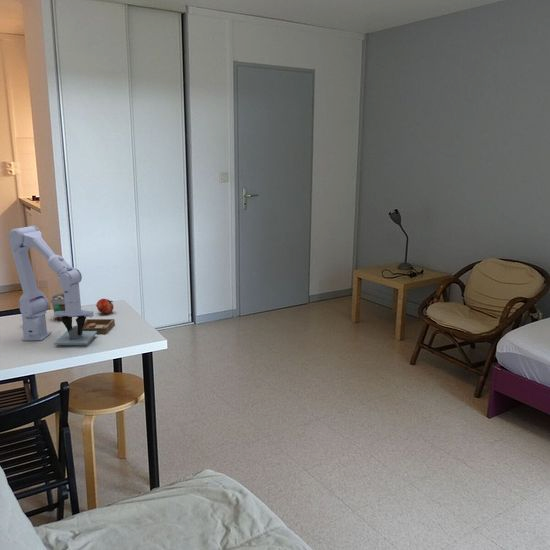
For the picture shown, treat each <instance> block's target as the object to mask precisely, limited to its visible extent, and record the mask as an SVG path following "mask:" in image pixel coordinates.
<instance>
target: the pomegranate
mask: <svg viewBox="0 0 550 550" xmlns="http://www.w3.org/2000/svg"><path fill="white" fill-rule="evenodd" d="M113 302H114V300H110V299H108V298H101V299H99V300H98V301H97V302H96V305H95V306H96V308H97V310H98V313H101V314H102V315H108V314H110V313H112V312H113V310H114V307H115V306H114V303H113Z"/></svg>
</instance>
